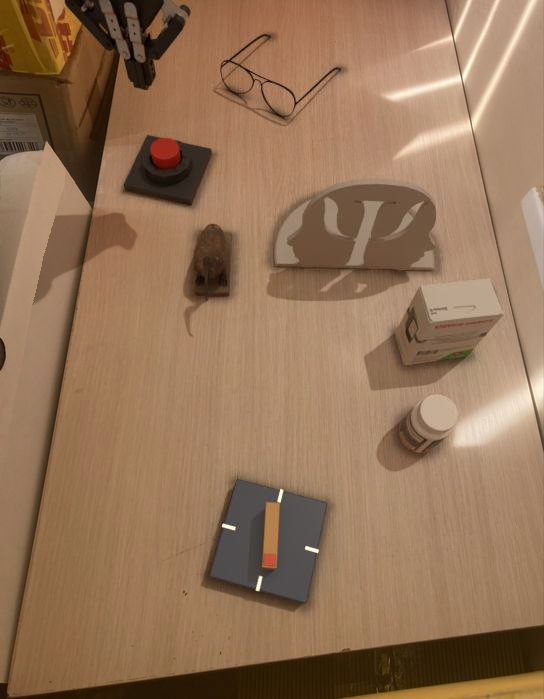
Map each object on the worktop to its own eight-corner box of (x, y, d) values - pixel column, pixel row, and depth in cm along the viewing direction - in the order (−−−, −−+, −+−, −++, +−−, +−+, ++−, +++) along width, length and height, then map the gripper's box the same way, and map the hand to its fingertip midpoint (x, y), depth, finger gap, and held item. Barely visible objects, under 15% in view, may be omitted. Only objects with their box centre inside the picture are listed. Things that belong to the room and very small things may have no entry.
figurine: (228, 324, 69) (225, 289, 61) (193, 324, 69) (185, 288, 61) (231, 234, 75) (229, 192, 67) (199, 234, 74) (192, 191, 67)
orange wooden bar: (265, 507, 56) (265, 501, 53) (278, 508, 56) (280, 502, 53) (261, 569, 54) (261, 567, 50) (275, 570, 54) (276, 568, 50)
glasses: (218, 86, 87) (218, 56, 82) (268, 46, 94) (271, 16, 89) (293, 123, 84) (297, 94, 79) (339, 79, 91) (345, 50, 86)
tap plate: (210, 578, 56) (207, 577, 53) (236, 482, 60) (235, 477, 58) (304, 604, 55) (307, 605, 53) (325, 506, 60) (328, 501, 57)
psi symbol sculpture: (273, 267, 73) (278, 181, 57) (274, 190, 78) (279, 92, 63) (435, 272, 73) (482, 187, 58) (424, 195, 79) (465, 99, 63)
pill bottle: (438, 417, 64) (462, 393, 57) (437, 456, 62) (462, 436, 55) (398, 411, 65) (417, 387, 57) (396, 450, 63) (416, 429, 55)
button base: (124, 190, 77) (120, 175, 75) (148, 140, 81) (144, 124, 79) (191, 205, 76) (189, 191, 74) (211, 154, 81) (210, 139, 78)
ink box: (457, 323, 70) (494, 274, 59) (468, 358, 68) (508, 314, 57) (393, 331, 69) (418, 283, 58) (402, 367, 67) (430, 323, 56)
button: (148, 166, 76) (146, 155, 74) (158, 146, 78) (155, 135, 76) (175, 172, 76) (173, 161, 74) (184, 151, 77) (182, 140, 75)
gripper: (194, -103, 47) (208, 74, 63) (52, -128, 48) (101, 52, 64) (166, -55, 44) (188, 119, 59) (15, -84, 45) (76, 94, 60)
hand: (143, 84), depth 61 cm, fingers closed
